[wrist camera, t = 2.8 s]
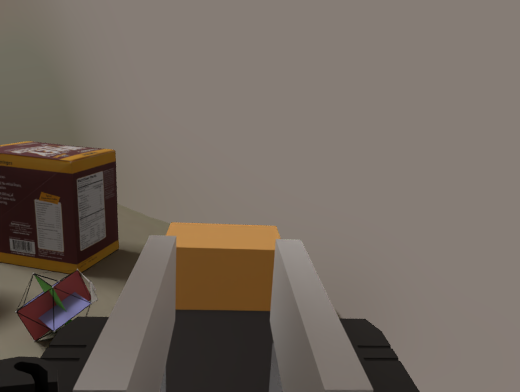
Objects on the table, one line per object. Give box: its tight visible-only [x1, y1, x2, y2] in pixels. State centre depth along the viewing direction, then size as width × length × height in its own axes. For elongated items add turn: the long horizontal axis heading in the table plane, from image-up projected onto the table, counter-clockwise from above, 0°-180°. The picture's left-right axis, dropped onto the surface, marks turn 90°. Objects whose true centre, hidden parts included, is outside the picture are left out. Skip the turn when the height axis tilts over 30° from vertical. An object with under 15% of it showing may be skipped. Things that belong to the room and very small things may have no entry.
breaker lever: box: [166, 222, 281, 392], centre depth 23 cm, size 3×5×16 cm, turn 94°
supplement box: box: [0, 141, 119, 274], centre depth 61 cm, size 10×15×16 cm
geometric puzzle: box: [15, 269, 98, 342], centre depth 43 cm, size 7×7×8 cm
